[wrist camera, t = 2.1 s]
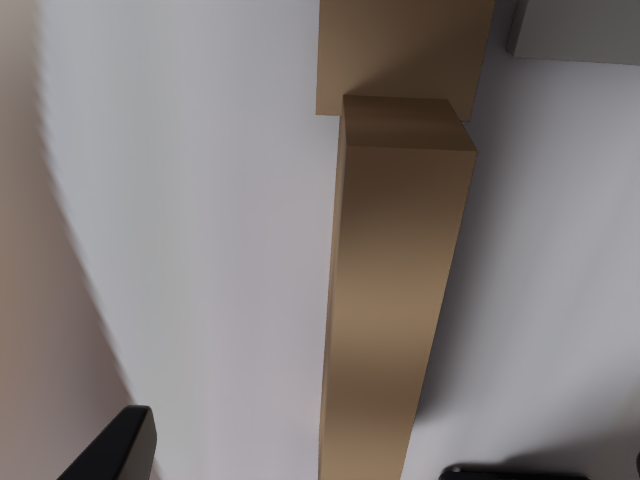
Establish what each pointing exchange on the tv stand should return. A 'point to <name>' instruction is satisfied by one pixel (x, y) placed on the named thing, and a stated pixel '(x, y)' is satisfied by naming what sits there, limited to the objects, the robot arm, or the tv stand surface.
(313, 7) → the tv stand surface
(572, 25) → the mat
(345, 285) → the brown wooden bar
